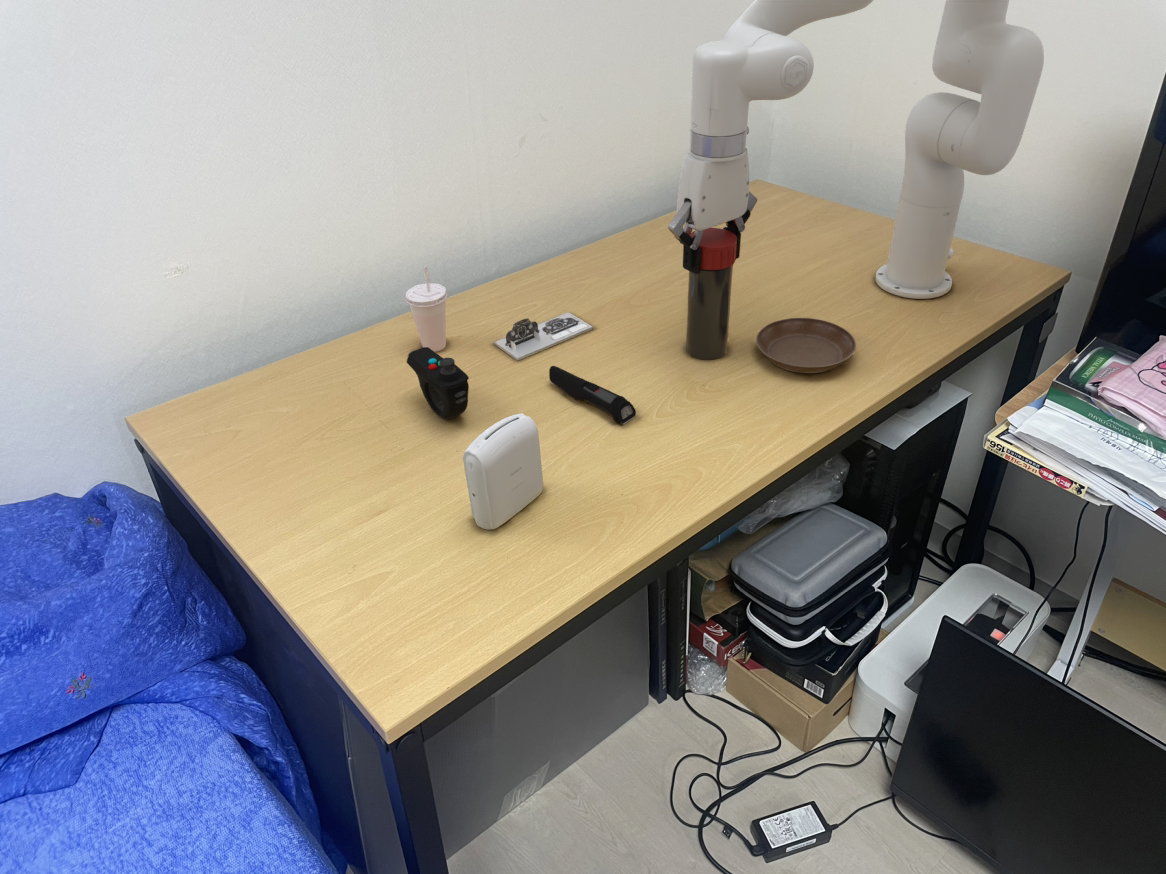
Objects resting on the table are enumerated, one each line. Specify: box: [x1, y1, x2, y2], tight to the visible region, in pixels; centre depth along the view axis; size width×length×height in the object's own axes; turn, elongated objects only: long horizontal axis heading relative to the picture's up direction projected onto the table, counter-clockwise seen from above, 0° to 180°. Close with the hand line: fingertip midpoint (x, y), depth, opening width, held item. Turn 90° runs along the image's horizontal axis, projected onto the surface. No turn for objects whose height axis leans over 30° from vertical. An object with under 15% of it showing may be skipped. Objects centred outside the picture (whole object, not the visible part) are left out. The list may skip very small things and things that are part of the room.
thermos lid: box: [690, 227, 737, 270], centre depth 127 cm, size 7×7×4 cm
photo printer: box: [462, 412, 544, 531], centre depth 105 cm, size 10×4×12 cm, turn 140°
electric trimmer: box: [548, 365, 637, 426], centre depth 126 cm, size 4×16×3 cm, turn 45°
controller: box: [406, 346, 470, 420], centre depth 123 cm, size 4×12×10 cm, turn 38°
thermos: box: [685, 264, 734, 361], centre depth 132 cm, size 6×6×18 cm
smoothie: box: [405, 265, 448, 353], centre depth 137 cm, size 6×6×14 cm
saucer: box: [755, 317, 857, 374], centre depth 134 cm, size 15×15×3 cm
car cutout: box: [493, 312, 594, 362], centre depth 141 cm, size 15×7×4 cm, turn 128°
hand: (711, 262), depth 128 cm, fingers closed on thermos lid, 7 cm apart
